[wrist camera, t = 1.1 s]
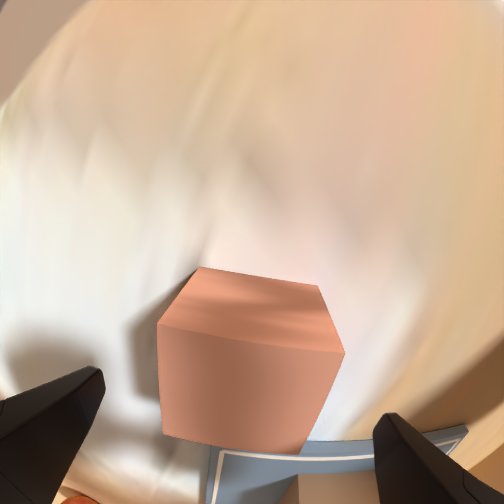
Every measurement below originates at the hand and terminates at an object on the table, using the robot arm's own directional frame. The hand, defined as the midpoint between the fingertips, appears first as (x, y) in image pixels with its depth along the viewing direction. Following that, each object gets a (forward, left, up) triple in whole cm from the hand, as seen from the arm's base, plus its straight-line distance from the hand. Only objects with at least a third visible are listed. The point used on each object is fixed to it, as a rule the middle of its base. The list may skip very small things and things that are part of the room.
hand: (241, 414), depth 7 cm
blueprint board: (-9, +15, -5) cm, 18 cm away
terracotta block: (0, 0, -5) cm, 5 cm away
